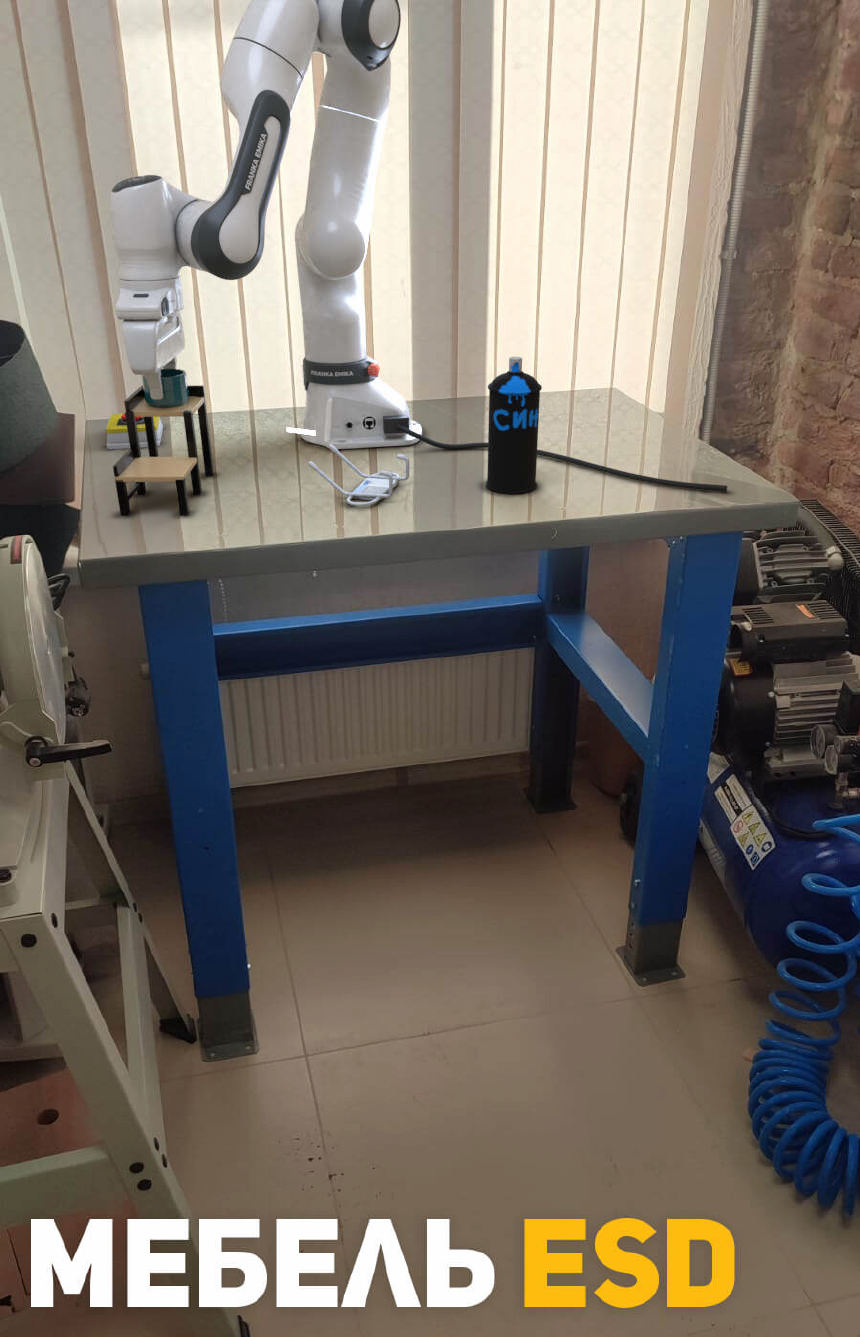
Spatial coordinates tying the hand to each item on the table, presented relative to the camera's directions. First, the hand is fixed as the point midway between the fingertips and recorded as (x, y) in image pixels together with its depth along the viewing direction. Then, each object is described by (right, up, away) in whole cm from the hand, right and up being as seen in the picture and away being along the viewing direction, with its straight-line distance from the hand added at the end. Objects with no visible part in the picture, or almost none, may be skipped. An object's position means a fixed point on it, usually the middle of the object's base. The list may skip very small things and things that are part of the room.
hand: (164, 392), depth 155 cm
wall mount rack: (+30, -15, +3) cm, 34 cm away
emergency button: (-14, 0, +32) cm, 35 cm away
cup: (0, -2, +1) cm, 2 cm away
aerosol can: (+54, -14, +5) cm, 56 cm away
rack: (0, -15, +3) cm, 16 cm away
